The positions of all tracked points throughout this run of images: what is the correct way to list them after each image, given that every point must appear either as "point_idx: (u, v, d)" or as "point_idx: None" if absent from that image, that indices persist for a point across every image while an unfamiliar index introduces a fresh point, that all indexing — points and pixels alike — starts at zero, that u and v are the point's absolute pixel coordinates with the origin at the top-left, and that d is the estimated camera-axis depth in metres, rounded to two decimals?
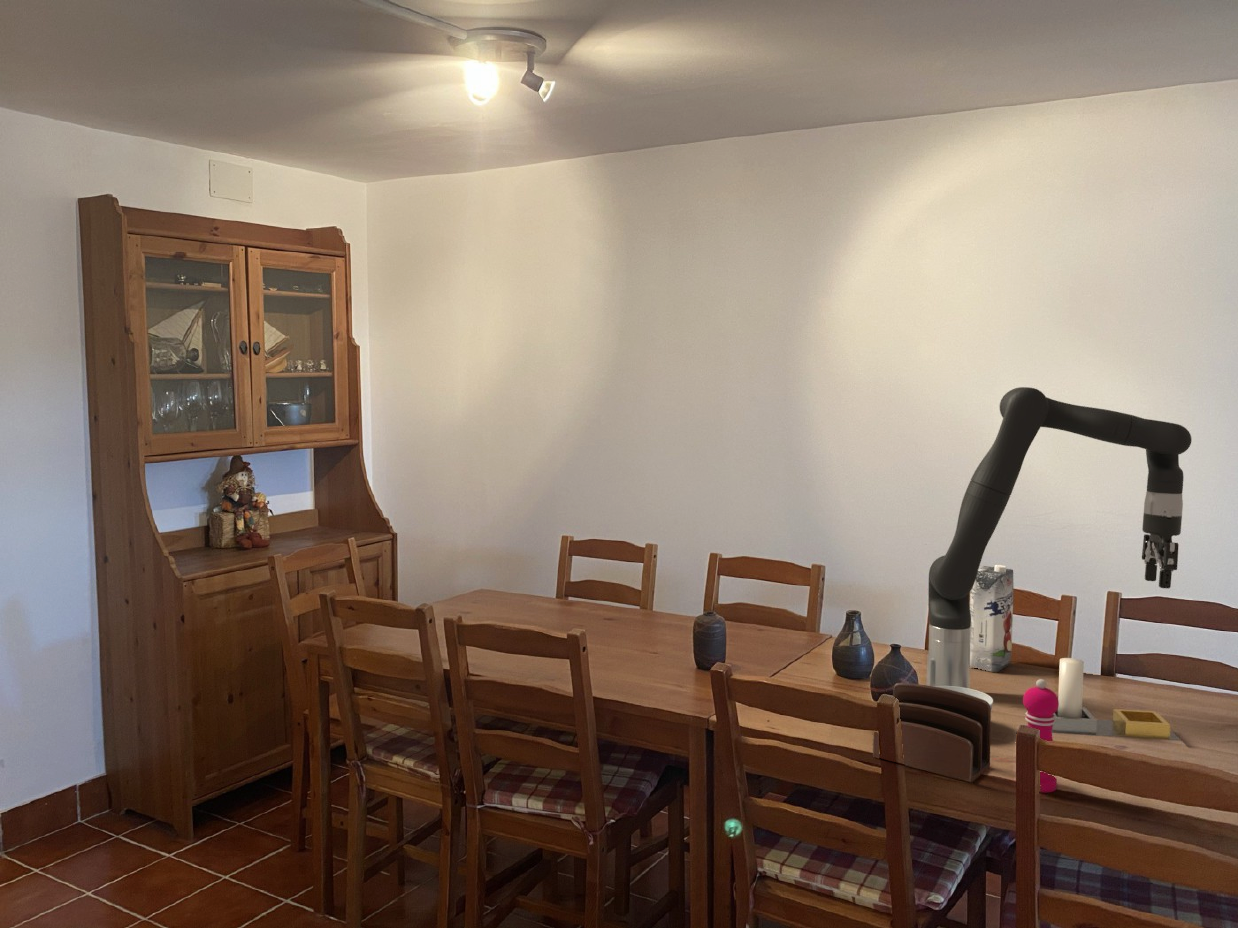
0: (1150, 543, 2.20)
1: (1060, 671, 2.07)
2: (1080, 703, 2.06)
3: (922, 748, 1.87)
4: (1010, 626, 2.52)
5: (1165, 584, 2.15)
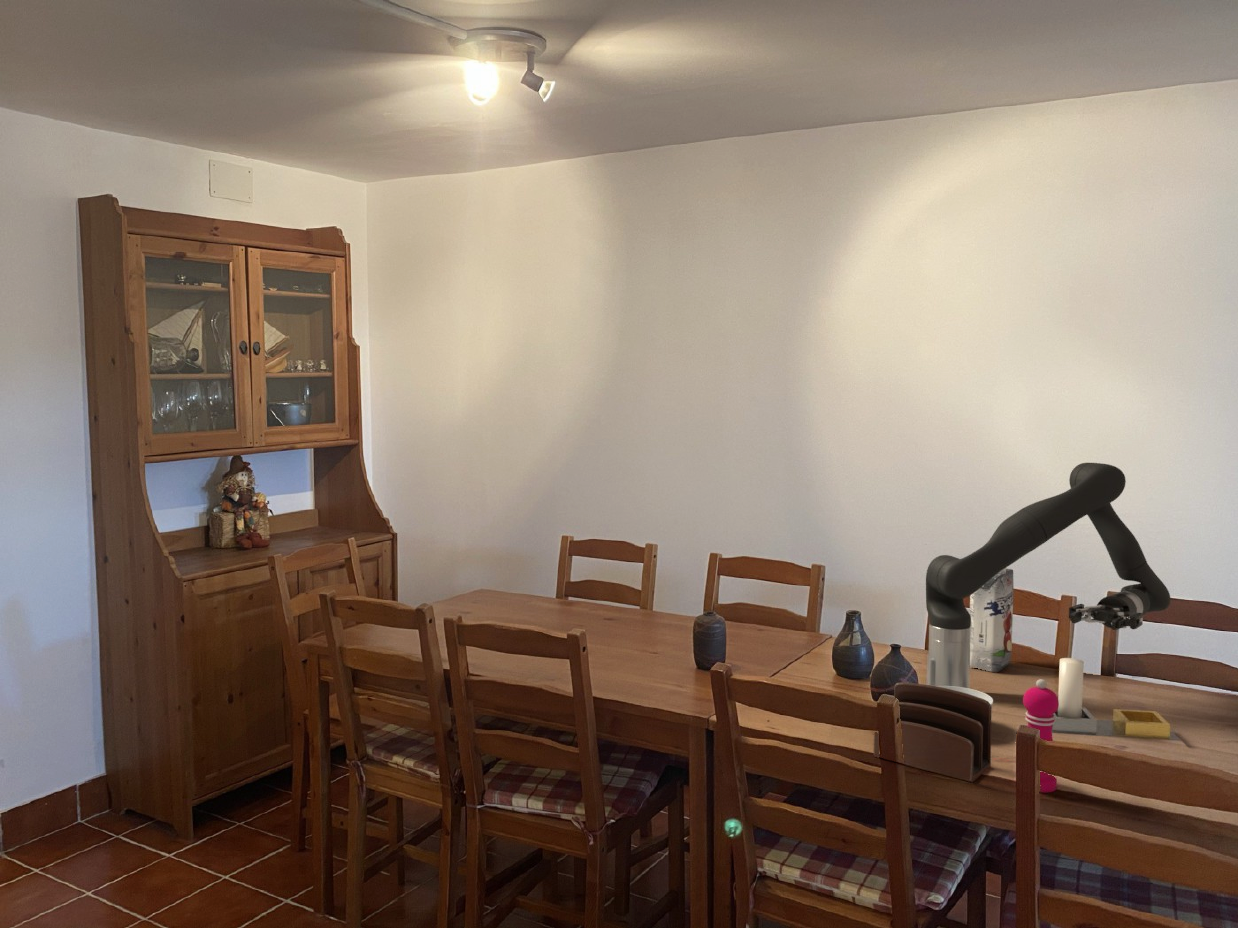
0: (1105, 606, 2.20)
1: (1060, 671, 2.07)
2: (1080, 703, 2.06)
3: (922, 747, 1.87)
4: (1010, 626, 2.52)
5: (1120, 624, 2.11)
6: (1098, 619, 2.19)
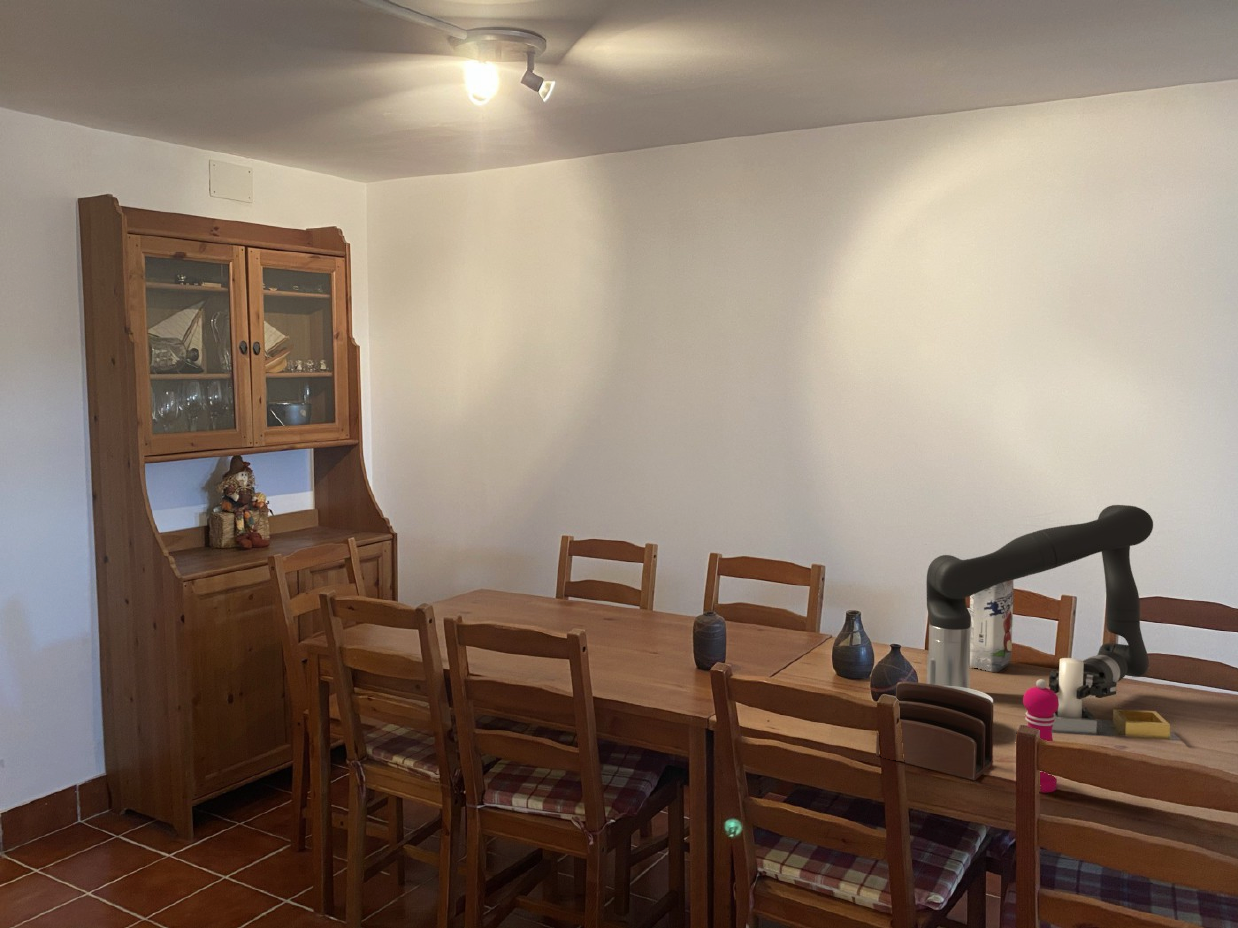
0: None
1: (1060, 671, 2.07)
2: (1080, 703, 2.06)
3: (925, 746, 1.88)
4: (1010, 626, 2.52)
5: (1084, 693, 2.03)
6: None
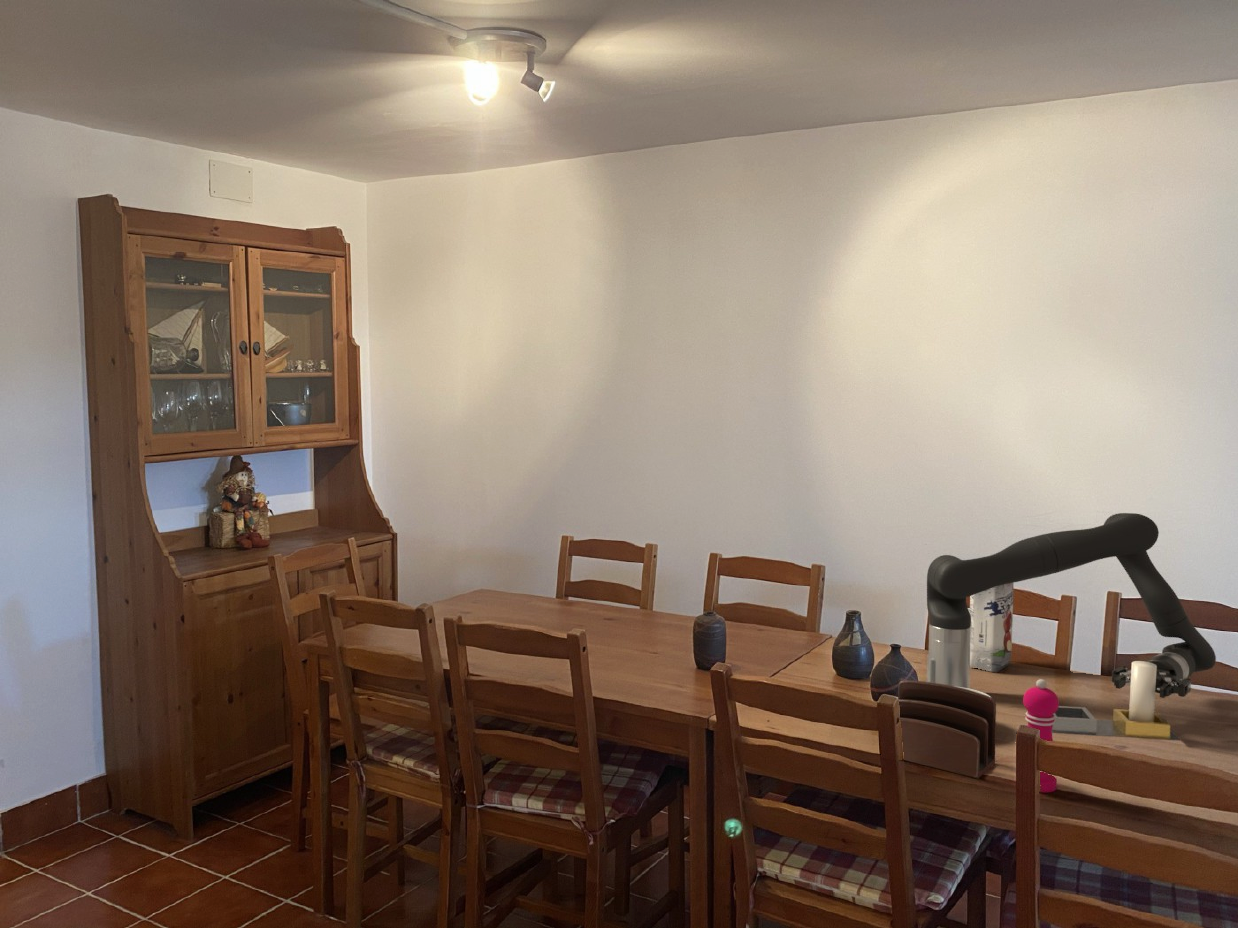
0: None
1: (1132, 674, 2.04)
2: (1152, 707, 2.03)
3: (928, 744, 1.89)
4: (1010, 626, 2.52)
5: (1168, 691, 2.00)
6: None
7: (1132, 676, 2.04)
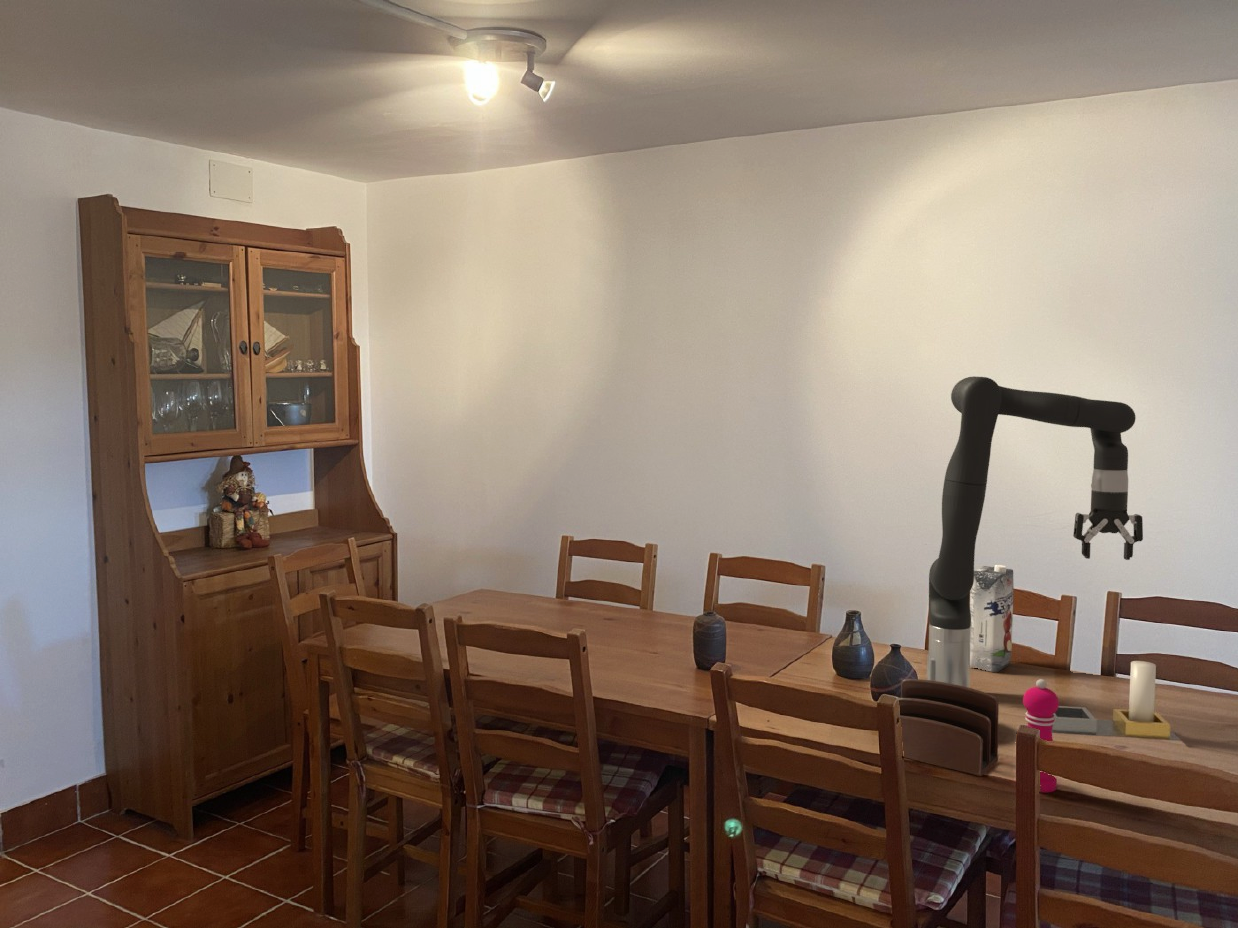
0: (1107, 520, 2.24)
1: (1131, 674, 2.05)
2: (1152, 707, 2.03)
3: (931, 742, 1.90)
4: (1010, 626, 2.52)
5: None
6: None
7: (1131, 676, 2.05)
